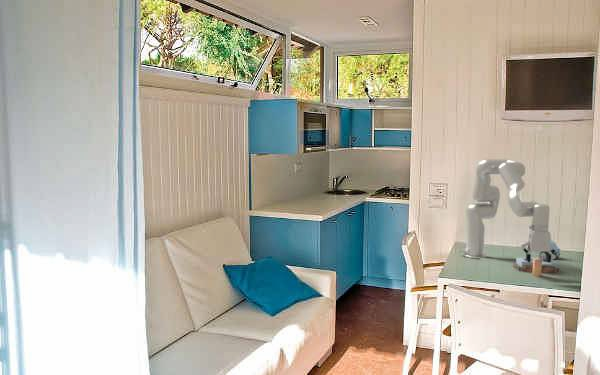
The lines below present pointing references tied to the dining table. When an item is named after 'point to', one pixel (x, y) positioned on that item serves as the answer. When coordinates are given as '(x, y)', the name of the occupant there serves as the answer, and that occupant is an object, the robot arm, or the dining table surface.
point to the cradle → (543, 269)
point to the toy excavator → (555, 254)
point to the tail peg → (537, 267)
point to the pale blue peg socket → (524, 262)
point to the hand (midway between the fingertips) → (538, 261)
